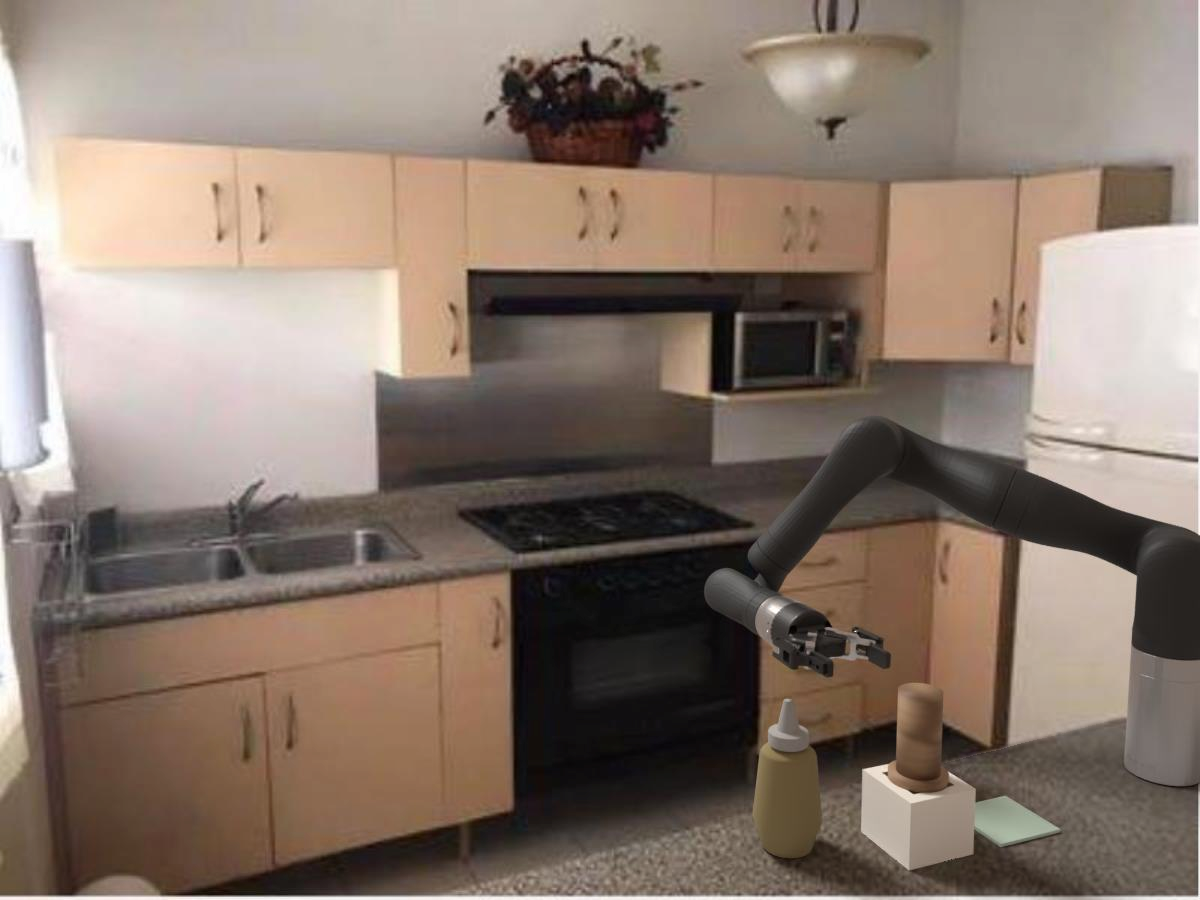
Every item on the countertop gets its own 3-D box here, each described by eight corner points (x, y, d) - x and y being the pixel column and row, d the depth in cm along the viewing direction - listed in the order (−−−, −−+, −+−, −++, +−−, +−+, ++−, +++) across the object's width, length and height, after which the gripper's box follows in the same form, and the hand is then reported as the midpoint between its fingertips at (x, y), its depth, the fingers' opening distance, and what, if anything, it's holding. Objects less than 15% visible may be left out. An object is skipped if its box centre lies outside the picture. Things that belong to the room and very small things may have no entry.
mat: (1005, 798, 126) (1005, 795, 126) (1060, 832, 118) (1060, 829, 118) (948, 811, 123) (948, 808, 123) (1000, 847, 115) (1000, 844, 115)
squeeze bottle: (749, 860, 113) (750, 711, 110) (755, 825, 121) (756, 685, 118) (821, 869, 111) (824, 717, 109) (822, 832, 119) (825, 690, 116)
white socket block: (922, 817, 122) (924, 756, 121) (973, 854, 114) (975, 788, 113) (861, 831, 119) (862, 769, 118) (908, 870, 110) (910, 803, 109)
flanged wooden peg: (922, 771, 120) (925, 676, 118) (961, 796, 113) (964, 696, 112) (875, 781, 117) (877, 684, 116) (912, 807, 111) (915, 705, 109)
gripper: (748, 607, 137) (812, 644, 122) (835, 596, 142) (908, 630, 126) (747, 659, 138) (810, 701, 123) (834, 647, 143) (905, 686, 128)
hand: (860, 665), depth 125 cm, fingers open, 8 cm apart
